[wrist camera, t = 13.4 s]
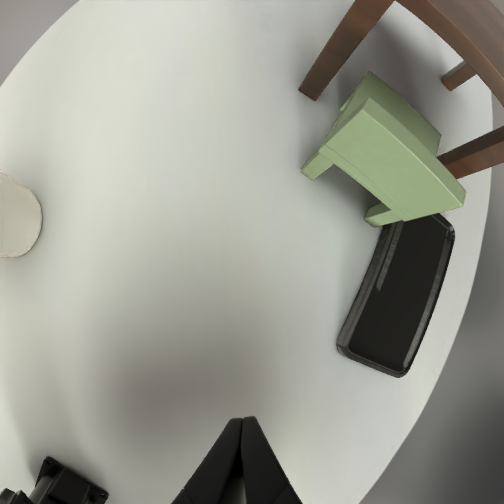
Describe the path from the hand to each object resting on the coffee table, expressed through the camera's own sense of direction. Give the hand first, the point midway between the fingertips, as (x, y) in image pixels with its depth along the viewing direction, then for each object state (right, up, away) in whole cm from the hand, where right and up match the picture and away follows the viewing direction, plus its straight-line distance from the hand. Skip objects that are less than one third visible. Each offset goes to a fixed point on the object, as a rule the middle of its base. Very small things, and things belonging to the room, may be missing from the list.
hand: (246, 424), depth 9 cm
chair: (+9, +13, +14) cm, 22 cm away
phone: (+13, +3, +14) cm, 19 cm away
